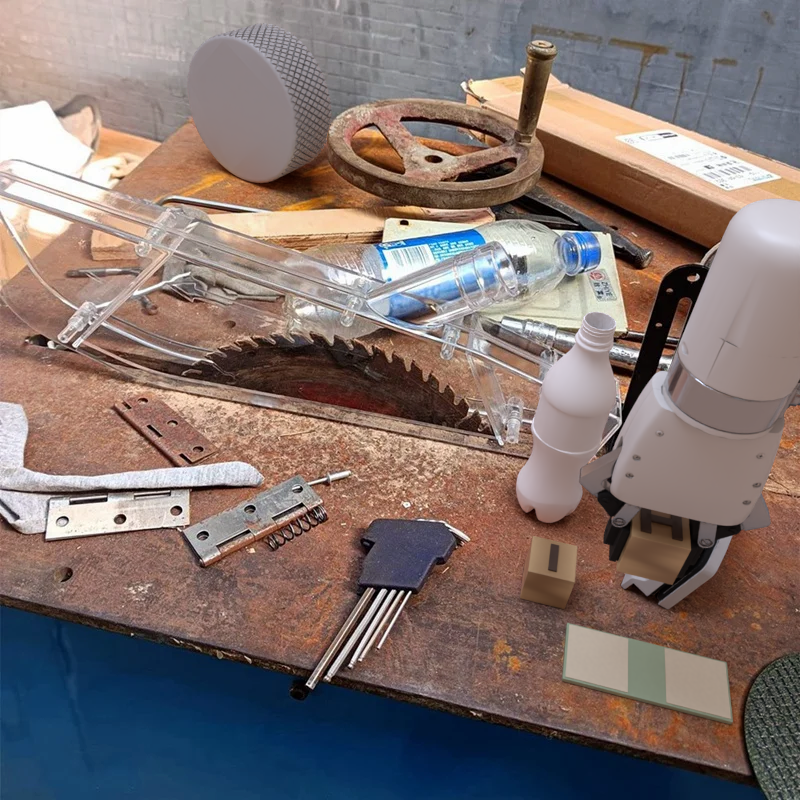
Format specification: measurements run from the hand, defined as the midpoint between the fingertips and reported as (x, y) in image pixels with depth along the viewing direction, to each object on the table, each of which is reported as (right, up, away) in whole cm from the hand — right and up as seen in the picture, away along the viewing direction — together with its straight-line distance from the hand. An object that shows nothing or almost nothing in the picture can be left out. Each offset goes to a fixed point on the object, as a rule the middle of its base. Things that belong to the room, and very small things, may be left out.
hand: (645, 554), depth 62 cm
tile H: (0, 0, 0) cm, 0 cm away
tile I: (-6, -6, +14) cm, 16 cm away
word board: (+2, -12, +8) cm, 15 cm away
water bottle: (-4, +1, +23) cm, 23 cm away
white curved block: (+9, -3, +19) cm, 22 cm away
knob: (-46, +56, +81) cm, 109 cm away
